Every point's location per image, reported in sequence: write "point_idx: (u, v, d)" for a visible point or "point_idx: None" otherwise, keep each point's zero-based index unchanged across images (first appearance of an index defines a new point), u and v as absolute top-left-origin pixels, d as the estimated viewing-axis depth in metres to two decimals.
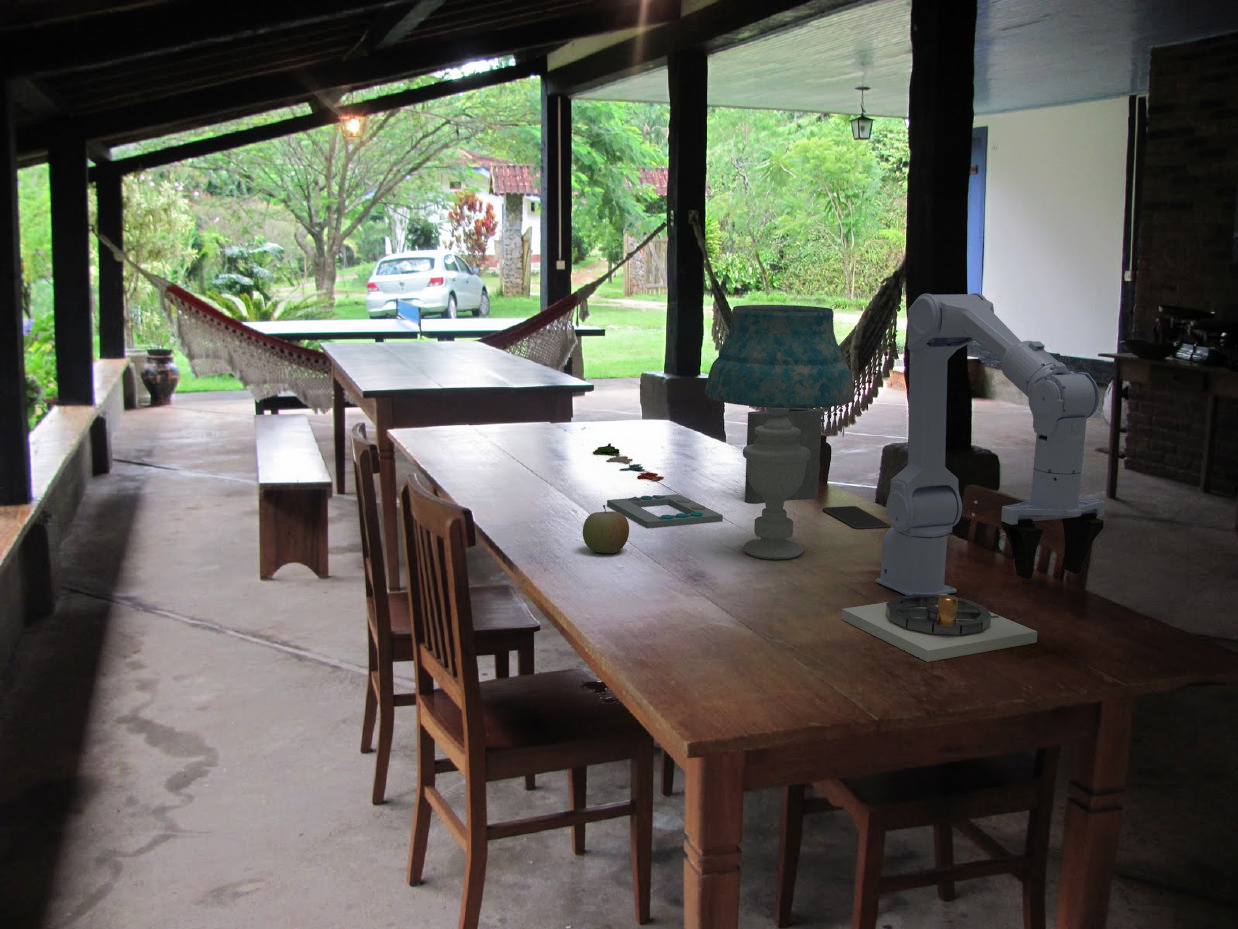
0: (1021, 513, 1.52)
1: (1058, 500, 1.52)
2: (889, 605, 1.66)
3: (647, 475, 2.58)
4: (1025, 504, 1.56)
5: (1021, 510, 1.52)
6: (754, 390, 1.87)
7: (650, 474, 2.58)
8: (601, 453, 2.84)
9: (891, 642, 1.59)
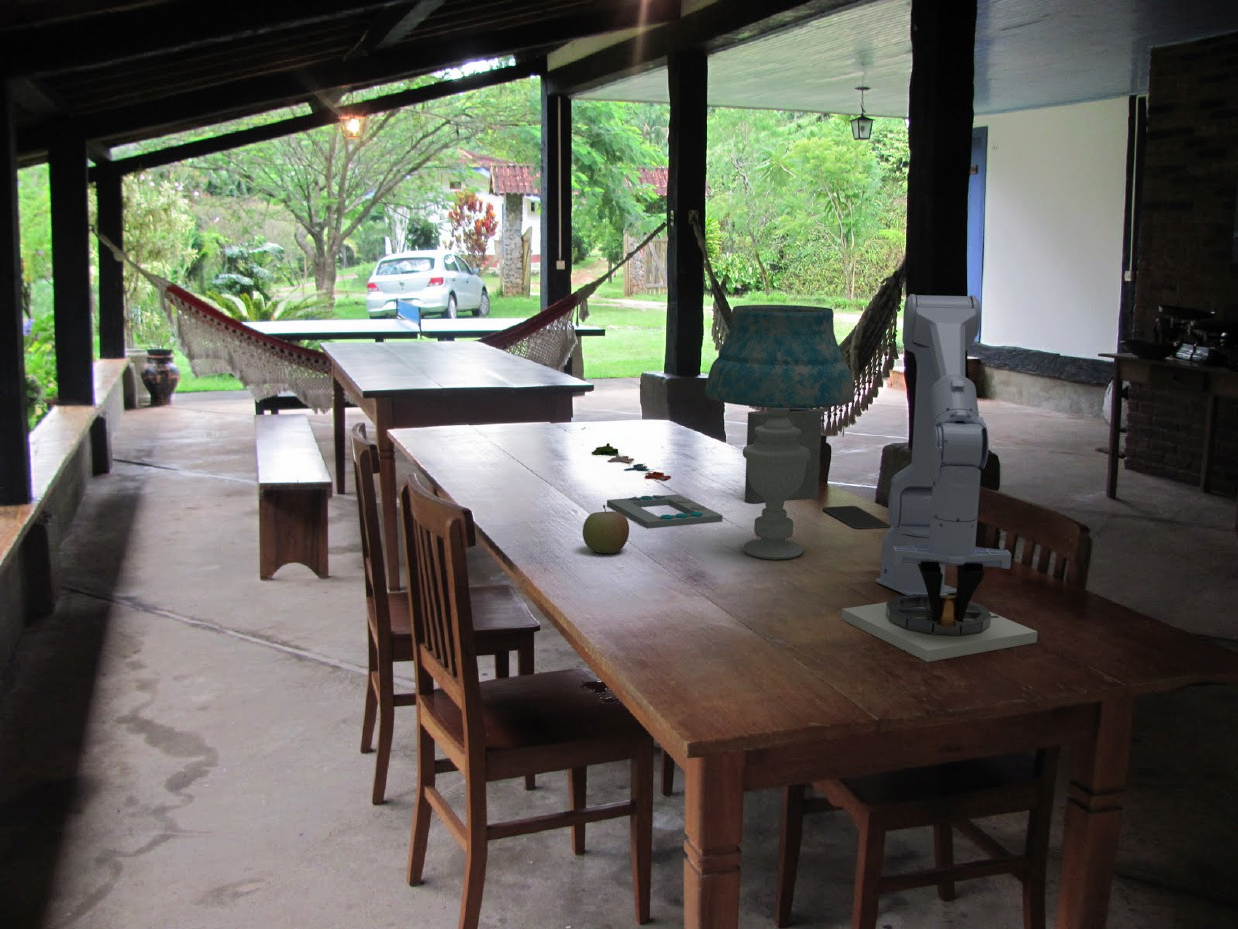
0: (905, 555, 1.56)
1: (943, 546, 1.54)
2: (889, 605, 1.66)
3: (654, 475, 2.58)
4: (925, 547, 1.59)
5: (905, 552, 1.56)
6: (754, 390, 1.87)
7: (657, 474, 2.59)
8: (600, 453, 2.83)
9: (891, 642, 1.59)
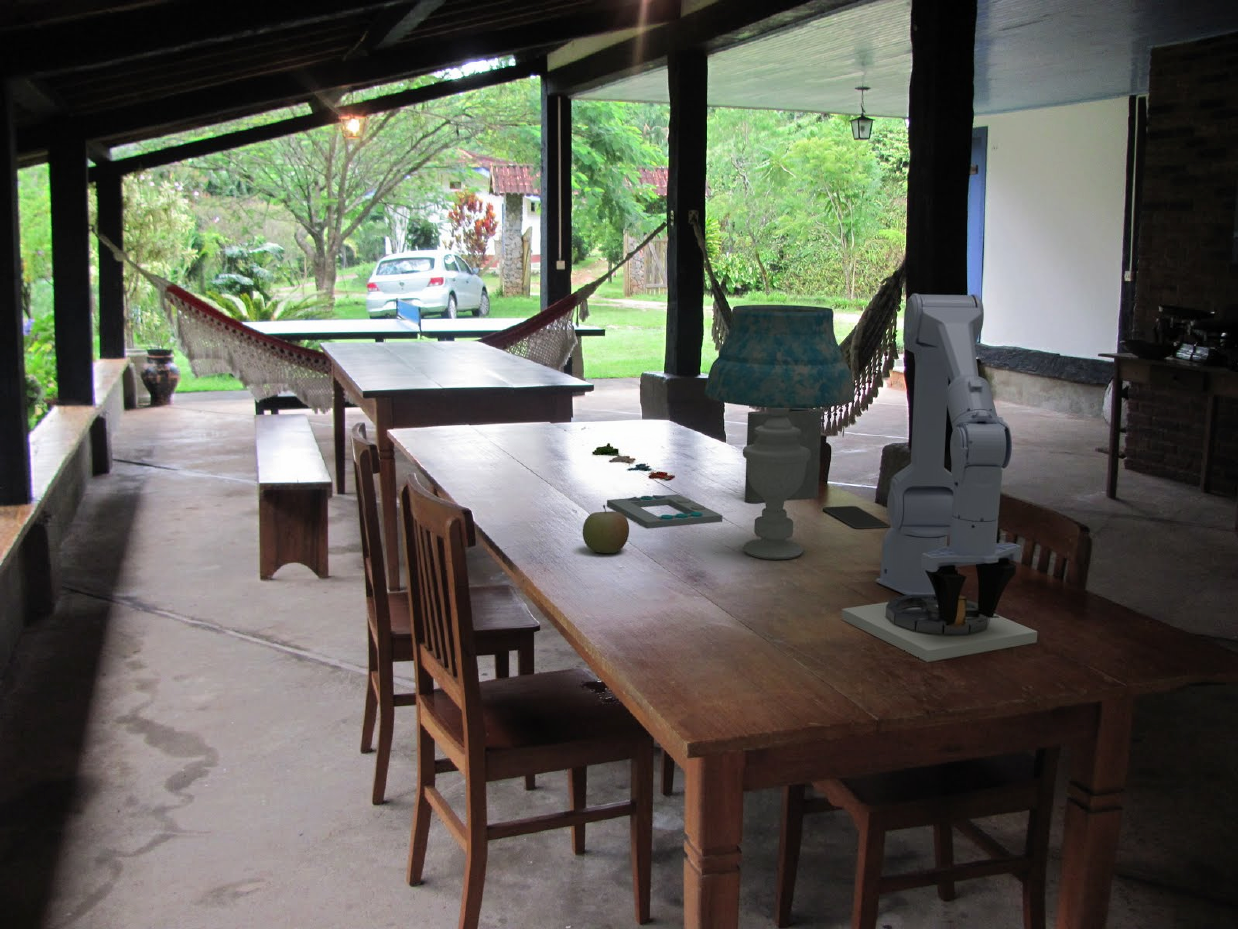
0: (940, 560, 1.54)
1: (976, 547, 1.54)
2: (890, 608, 1.64)
3: (658, 474, 2.59)
4: (944, 550, 1.58)
5: (940, 558, 1.54)
6: (754, 390, 1.87)
7: (661, 473, 2.59)
8: (601, 453, 2.83)
9: (891, 642, 1.59)
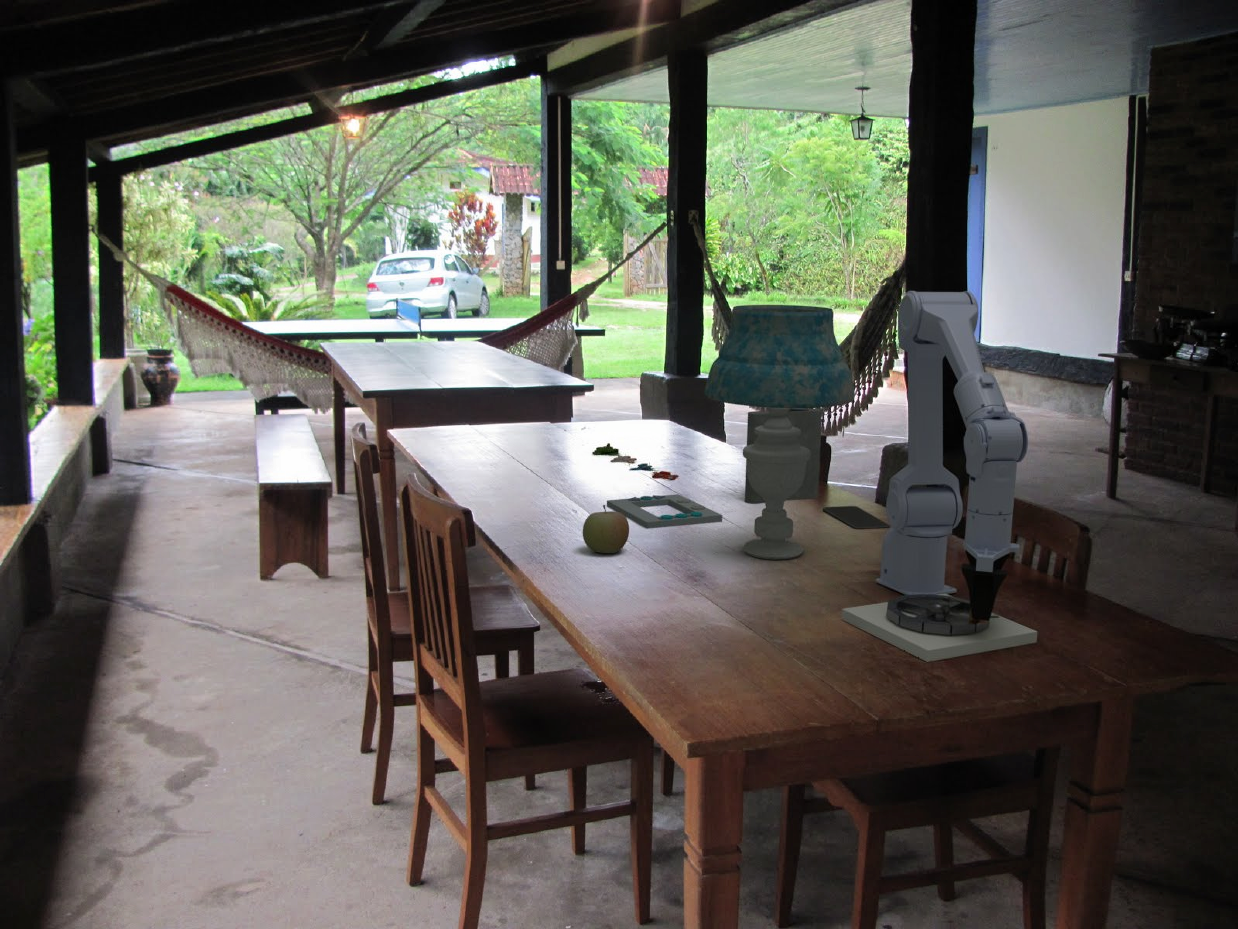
0: (994, 559, 1.55)
1: (1007, 539, 1.58)
2: (906, 617, 1.60)
3: (662, 474, 2.59)
4: None
5: (994, 556, 1.55)
6: (754, 390, 1.87)
7: (665, 473, 2.59)
8: (601, 453, 2.83)
9: (891, 642, 1.59)
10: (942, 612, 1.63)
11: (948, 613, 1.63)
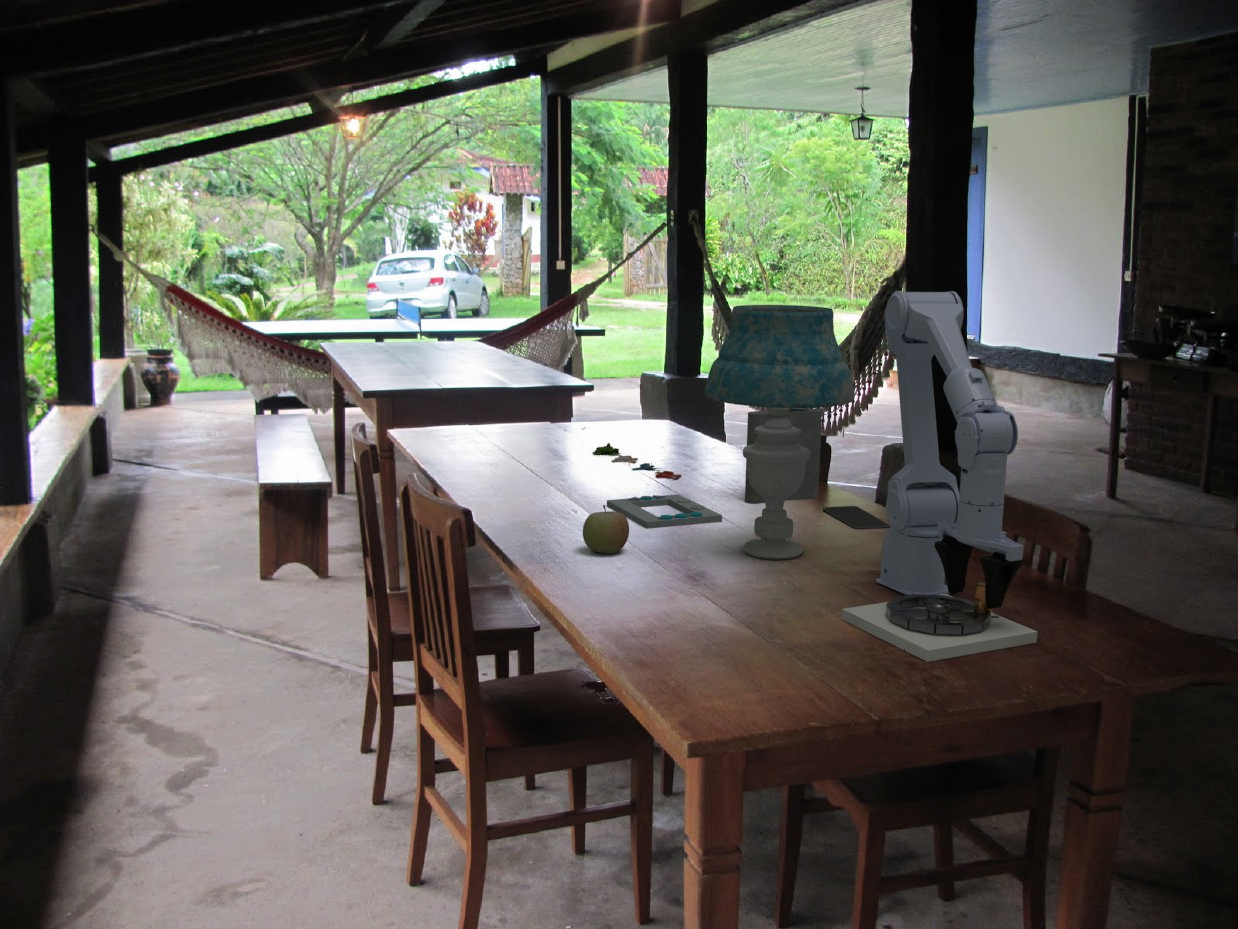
0: None
1: None
2: (941, 624, 1.58)
3: (665, 474, 2.59)
4: None
5: None
6: (754, 390, 1.87)
7: (668, 473, 2.60)
8: (601, 453, 2.83)
9: (891, 642, 1.59)
10: (948, 611, 1.63)
11: (951, 611, 1.64)
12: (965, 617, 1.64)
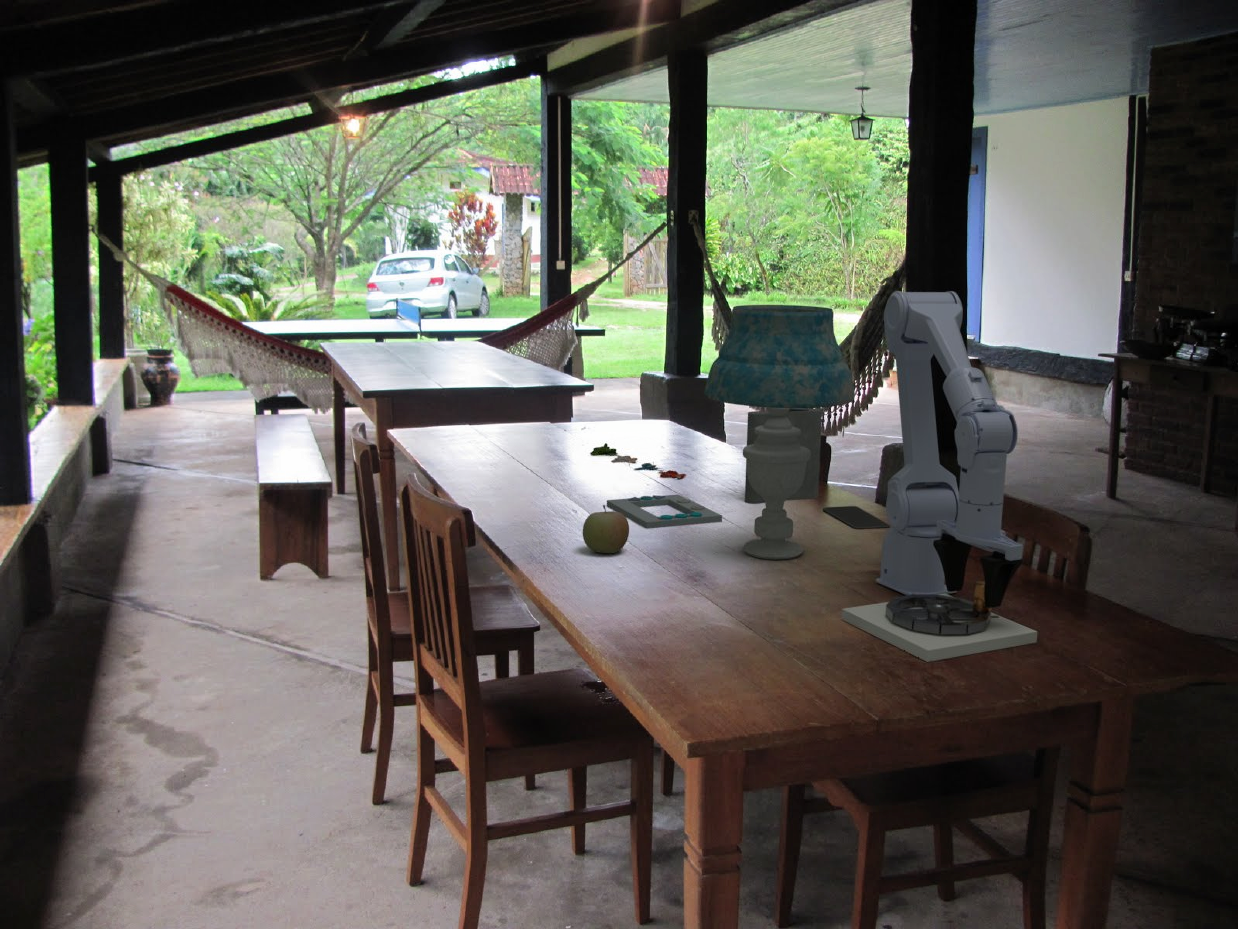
0: None
1: None
2: (946, 624, 1.58)
3: (670, 473, 2.60)
4: None
5: None
6: (754, 390, 1.87)
7: (672, 472, 2.60)
8: (599, 454, 2.83)
9: (891, 642, 1.59)
10: (948, 611, 1.63)
11: (951, 610, 1.64)
12: (965, 616, 1.64)
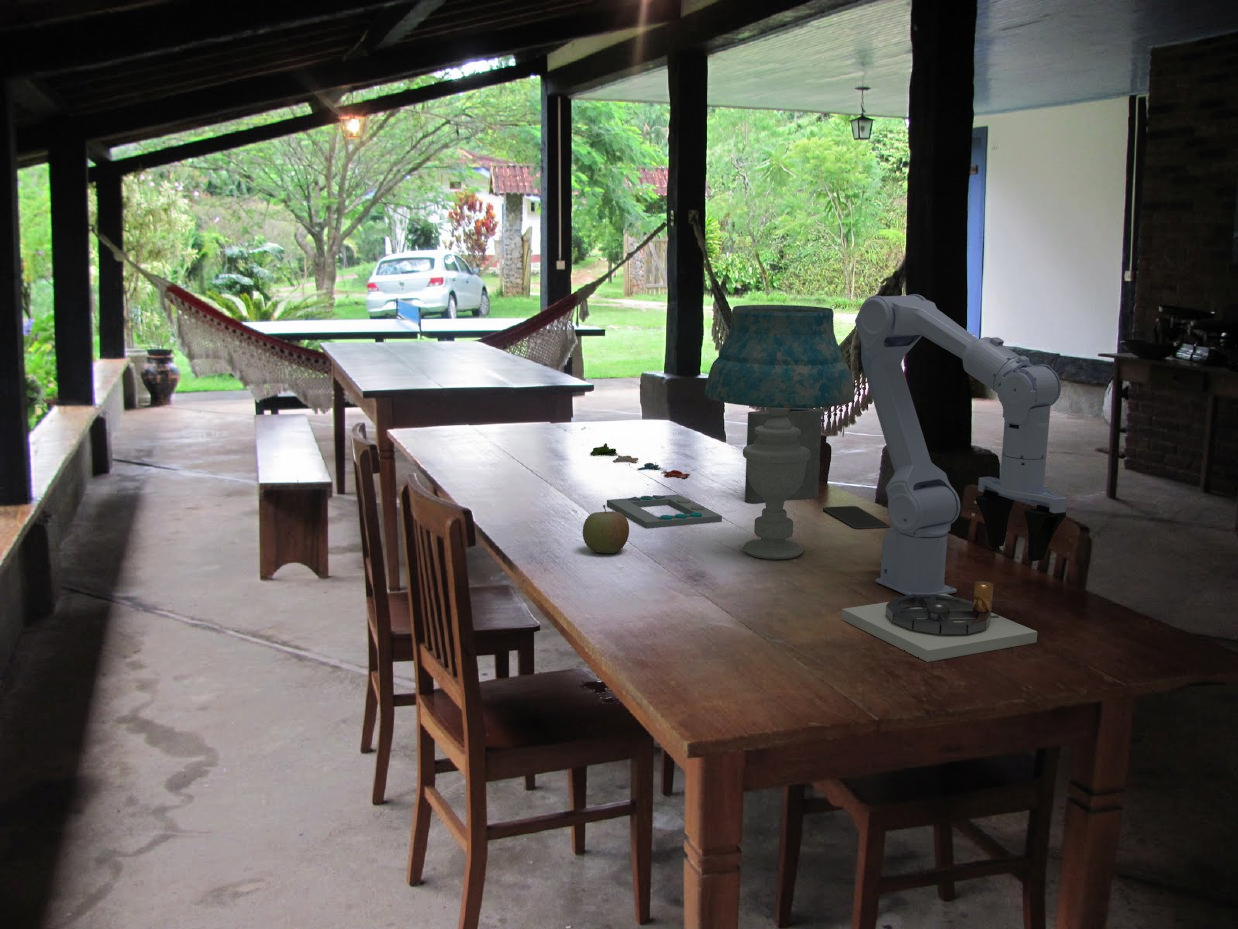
0: None
1: None
2: (946, 624, 1.58)
3: (674, 473, 2.60)
4: None
5: (1060, 496, 1.62)
6: (754, 390, 1.87)
7: (677, 472, 2.61)
8: (599, 454, 2.83)
9: (891, 642, 1.59)
10: (948, 611, 1.63)
11: (951, 610, 1.64)
12: (965, 616, 1.64)
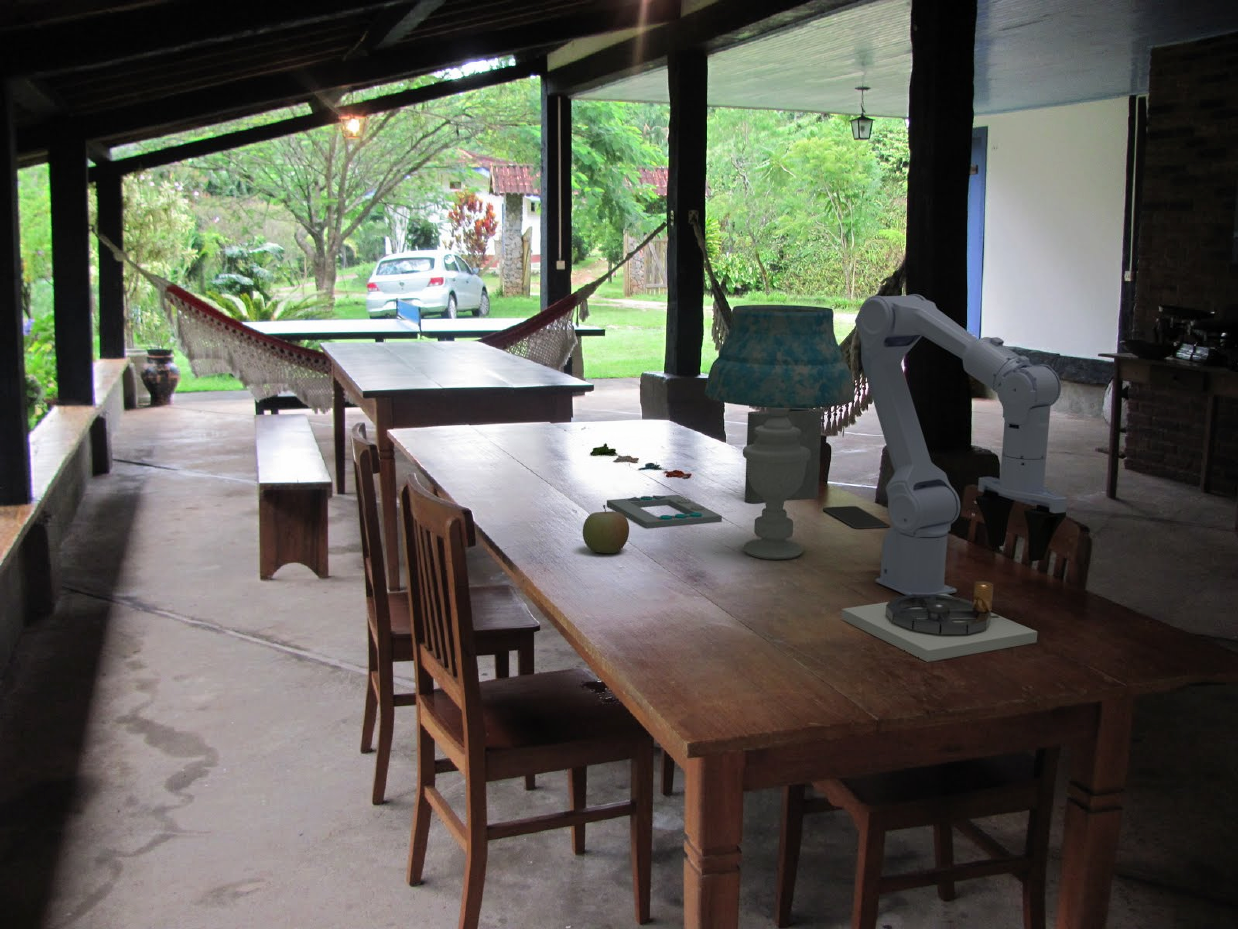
0: None
1: None
2: (946, 624, 1.58)
3: (676, 473, 2.61)
4: None
5: (1060, 496, 1.62)
6: (754, 390, 1.87)
7: (678, 472, 2.61)
8: (599, 454, 2.83)
9: (891, 642, 1.59)
10: (948, 611, 1.63)
11: (951, 610, 1.64)
12: (965, 616, 1.64)
